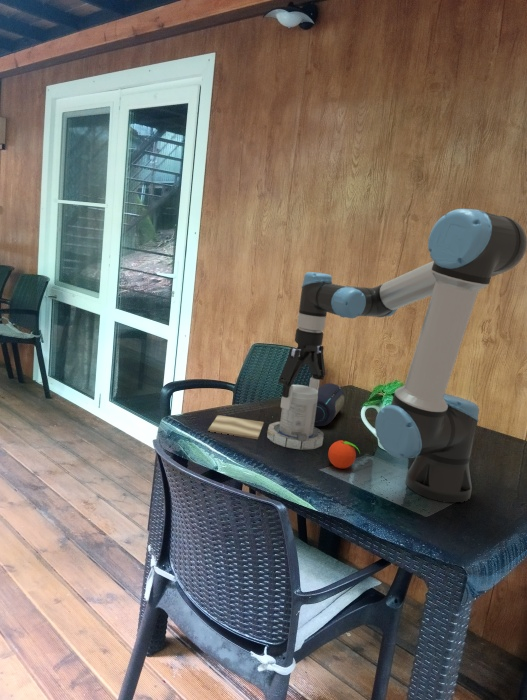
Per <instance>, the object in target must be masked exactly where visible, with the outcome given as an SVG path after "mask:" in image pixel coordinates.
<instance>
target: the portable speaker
mask: <svg viewBox="0 0 527 700" xmlns="http://www.w3.org/2000/svg"><path fill="white" fill-rule="evenodd" d="M345 395H346V394H345V392H344V390H343V389H342V387H340V386H339V385H338V384H334V383H332V382H331V383H324V384H322V385H321V386H319V388H318V400H317V407H316V415H315V422H314V427H324V426H327V425H328V424H330V423H331V422H332V421H333V420H334V418H335V417H336V415H337V414H338V413H340V411H341V410H342V409H343V406H345V402H346V396H345Z"/></svg>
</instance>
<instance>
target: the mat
mask: <svg viewBox="0 0 527 700" xmlns="http://www.w3.org/2000/svg"><path fill="white" fill-rule="evenodd" d="M264 424H265V422H264V421H259V420H254V419H245V418H239V417H235V416H234V417H233V416H226V415H220V414H217V415H216V417H215V419H214V420H213V422H212V423H211V425H210V426H209V428H207V432H208V431H210V432H209V433H214V432H216V433H215V434H221V433H222V435H227V434H229V435H228V436H233V435H234V437H241V438H246V439H254V440H259V438H260V435H261V431H262V428H263V427H264Z"/></svg>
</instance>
